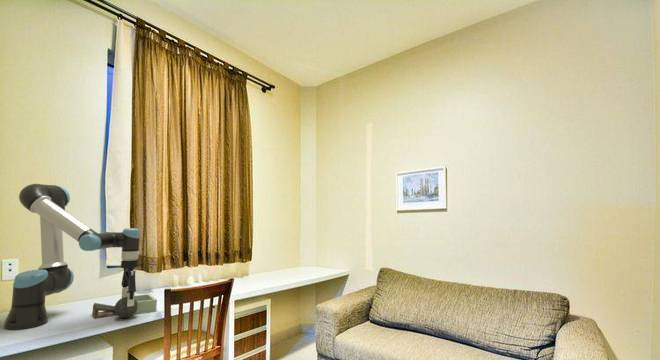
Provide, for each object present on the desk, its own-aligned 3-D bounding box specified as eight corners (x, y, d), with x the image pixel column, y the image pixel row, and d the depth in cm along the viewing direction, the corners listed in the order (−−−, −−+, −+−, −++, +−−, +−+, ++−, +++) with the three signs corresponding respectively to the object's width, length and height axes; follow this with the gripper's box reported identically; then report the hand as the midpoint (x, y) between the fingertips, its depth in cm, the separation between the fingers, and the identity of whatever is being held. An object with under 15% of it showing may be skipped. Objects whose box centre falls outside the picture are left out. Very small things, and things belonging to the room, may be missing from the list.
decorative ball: (108, 319, 168) (110, 298, 169) (124, 314, 178) (126, 293, 179) (125, 321, 166) (127, 300, 167) (141, 315, 176) (143, 295, 177)
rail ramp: (94, 318, 169) (95, 306, 170) (91, 314, 176) (92, 302, 177) (118, 315, 176) (119, 303, 176) (115, 311, 183) (116, 299, 183)
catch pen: (133, 314, 177) (134, 302, 178) (126, 307, 189) (127, 296, 189) (156, 311, 184) (156, 299, 185) (148, 304, 196) (149, 293, 196)
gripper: (144, 261, 168) (141, 307, 166) (132, 256, 187) (130, 297, 185) (126, 263, 163) (123, 310, 161) (116, 257, 182) (114, 299, 180)
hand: (127, 303), depth 173 cm, fingers open, 13 cm apart
